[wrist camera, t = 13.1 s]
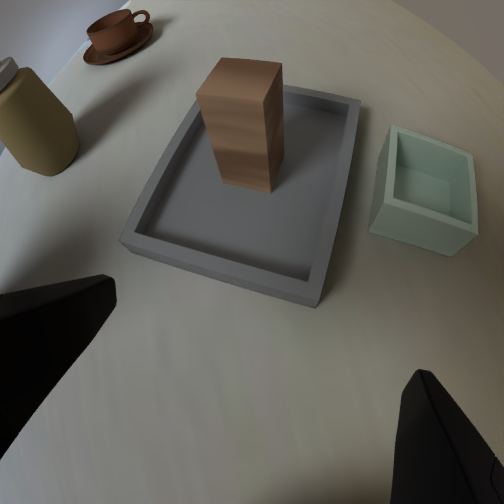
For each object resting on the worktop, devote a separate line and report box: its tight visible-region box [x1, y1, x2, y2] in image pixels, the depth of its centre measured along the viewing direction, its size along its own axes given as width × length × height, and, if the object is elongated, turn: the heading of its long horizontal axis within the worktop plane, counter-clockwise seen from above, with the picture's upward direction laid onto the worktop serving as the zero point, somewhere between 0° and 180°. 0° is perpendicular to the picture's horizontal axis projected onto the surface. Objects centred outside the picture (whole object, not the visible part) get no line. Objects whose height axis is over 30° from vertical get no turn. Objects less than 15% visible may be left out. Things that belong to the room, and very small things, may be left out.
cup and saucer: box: [83, 9, 153, 65], centre depth 35 cm, size 12×12×6 cm
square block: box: [196, 58, 284, 194], centre depth 21 cm, size 4×4×10 cm
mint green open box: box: [368, 125, 478, 257], centre depth 21 cm, size 8×8×4 cm
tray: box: [118, 85, 361, 308], centre depth 25 cm, size 19×15×2 cm
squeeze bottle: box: [0, 57, 79, 176], centre depth 21 cm, size 8×8×18 cm
